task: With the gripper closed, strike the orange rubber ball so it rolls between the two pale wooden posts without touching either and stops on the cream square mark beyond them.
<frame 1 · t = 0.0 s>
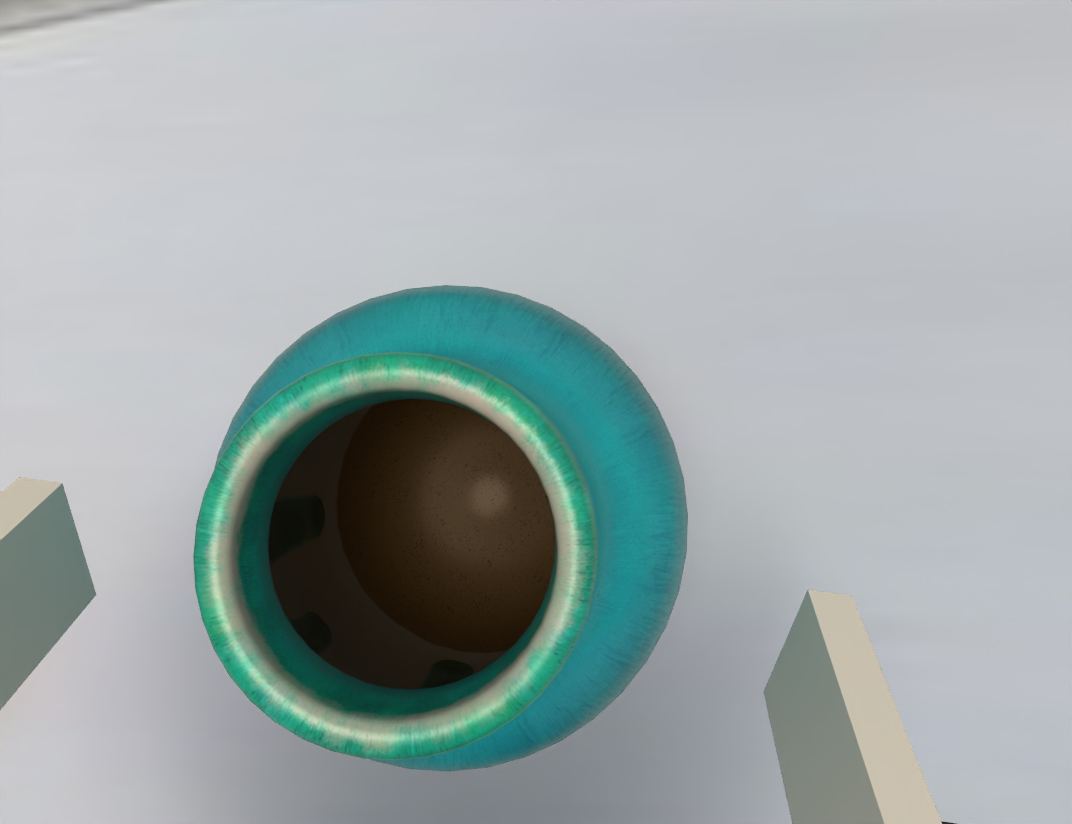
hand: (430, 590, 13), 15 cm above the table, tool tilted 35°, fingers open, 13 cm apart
vase: (493, 494, 28), on the table
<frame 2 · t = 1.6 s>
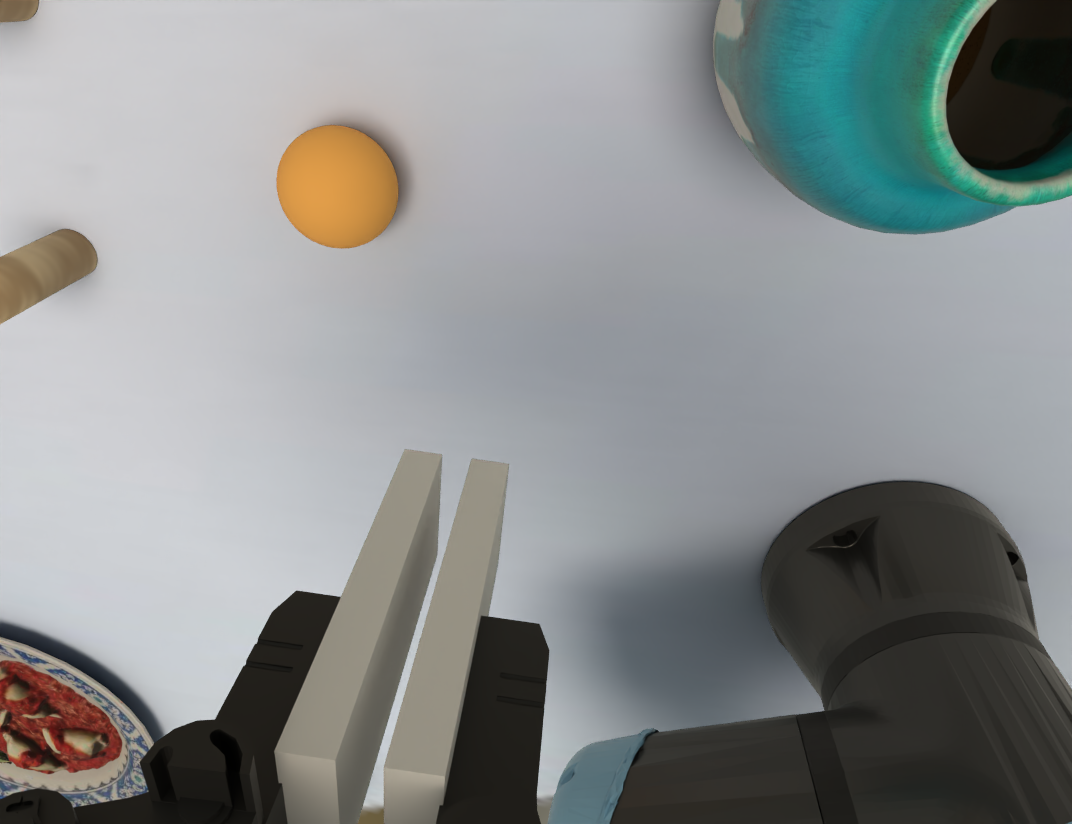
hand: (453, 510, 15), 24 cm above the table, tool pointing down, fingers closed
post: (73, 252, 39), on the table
ceramic plate: (29, 709, 64), on the table
ball: (338, 188, 33), on the table
vase: (820, 24, 31), on the table
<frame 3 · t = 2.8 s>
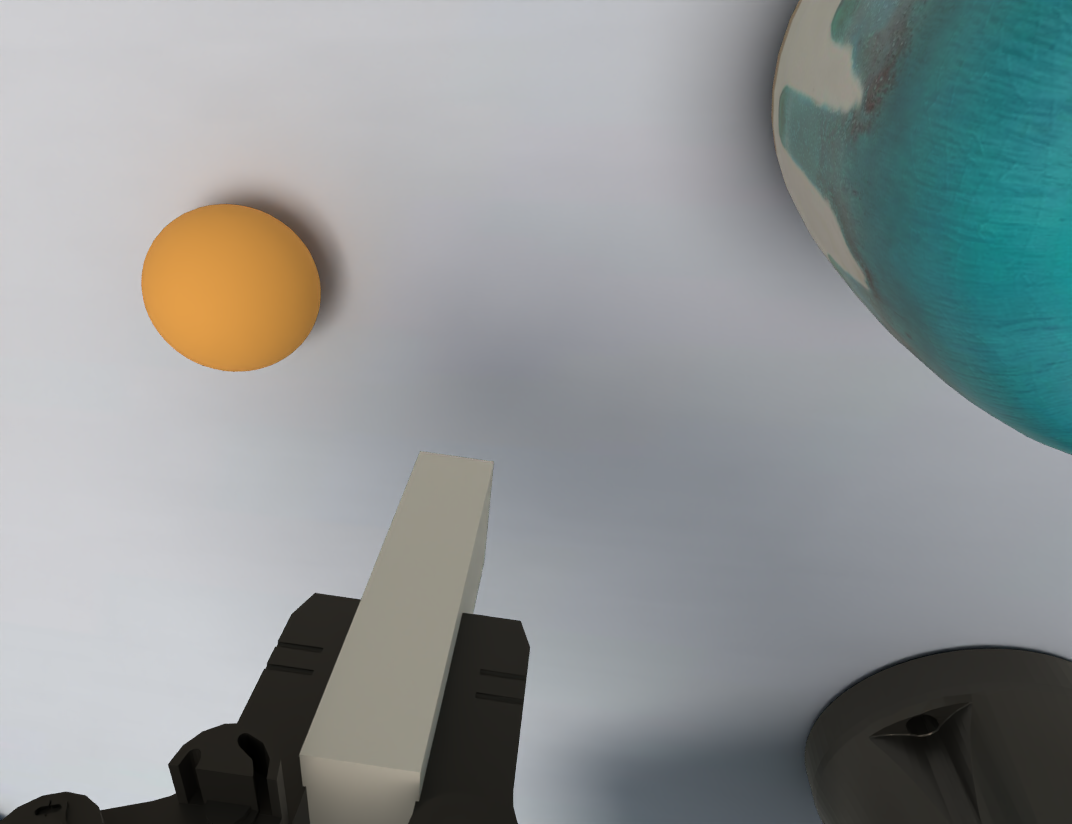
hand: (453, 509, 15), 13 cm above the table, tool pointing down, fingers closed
ball: (235, 289, 24), on the table
vase: (920, 66, 21), on the table
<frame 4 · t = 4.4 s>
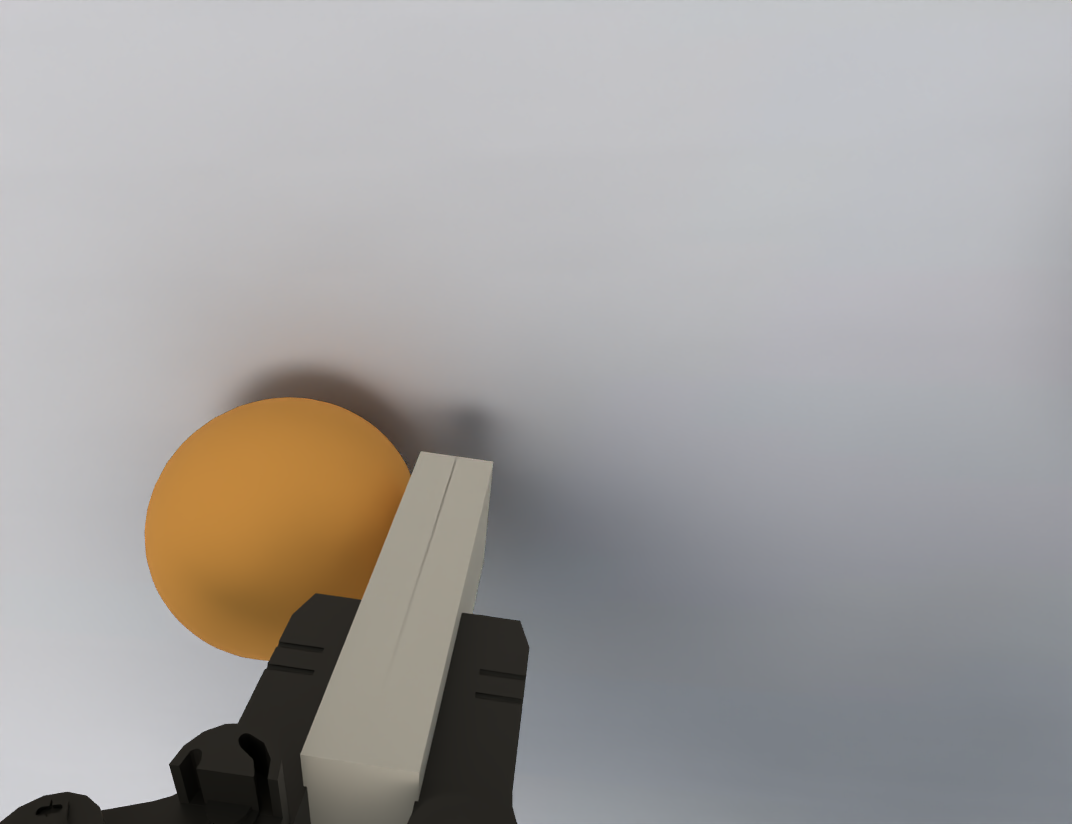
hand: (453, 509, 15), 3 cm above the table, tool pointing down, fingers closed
ball: (290, 525, 15), on the table
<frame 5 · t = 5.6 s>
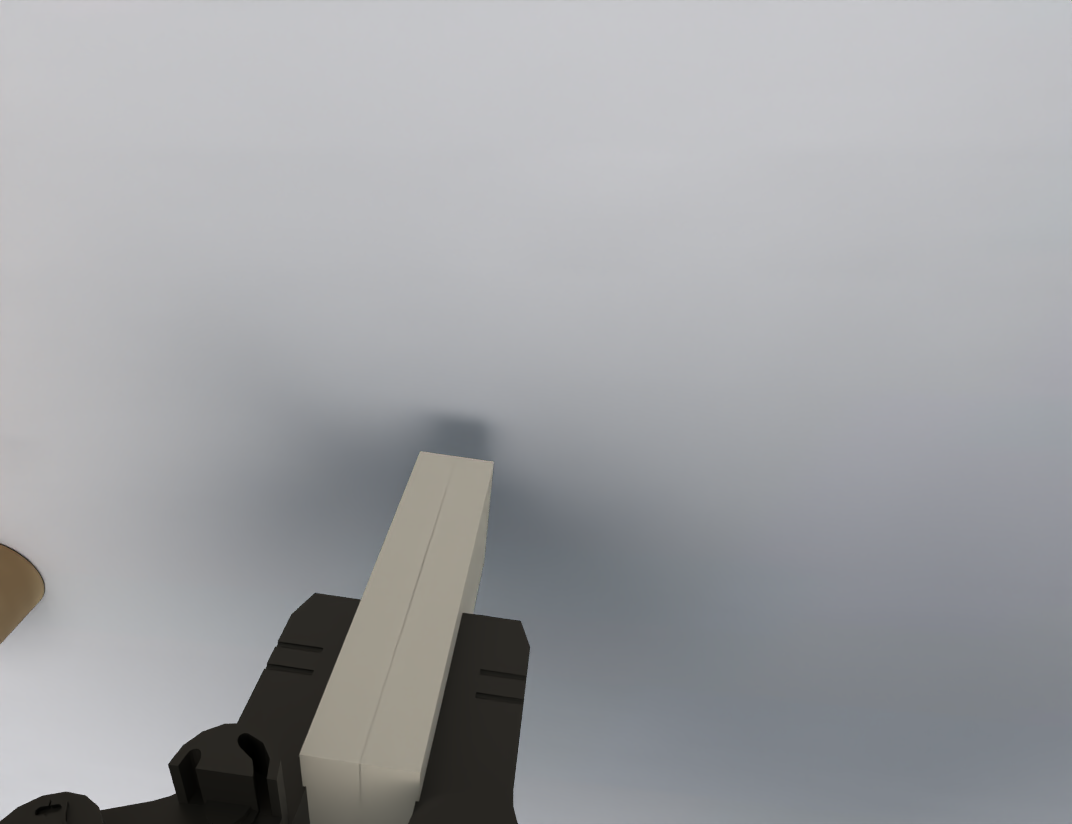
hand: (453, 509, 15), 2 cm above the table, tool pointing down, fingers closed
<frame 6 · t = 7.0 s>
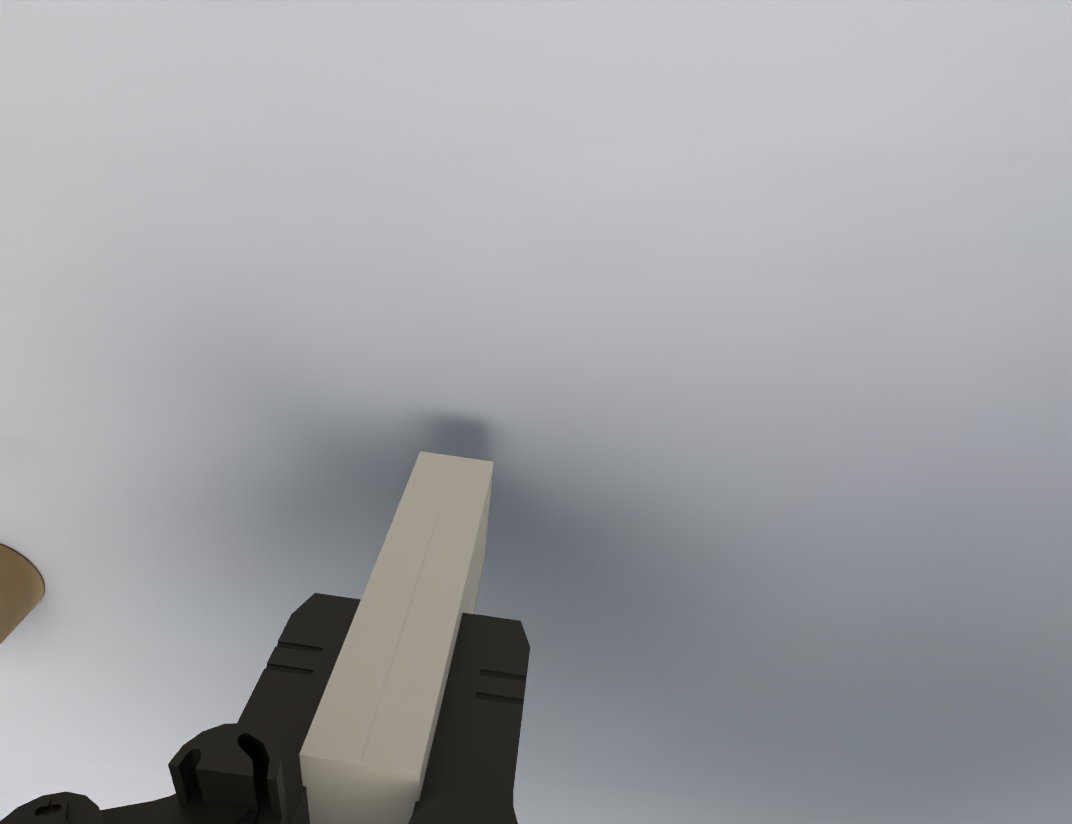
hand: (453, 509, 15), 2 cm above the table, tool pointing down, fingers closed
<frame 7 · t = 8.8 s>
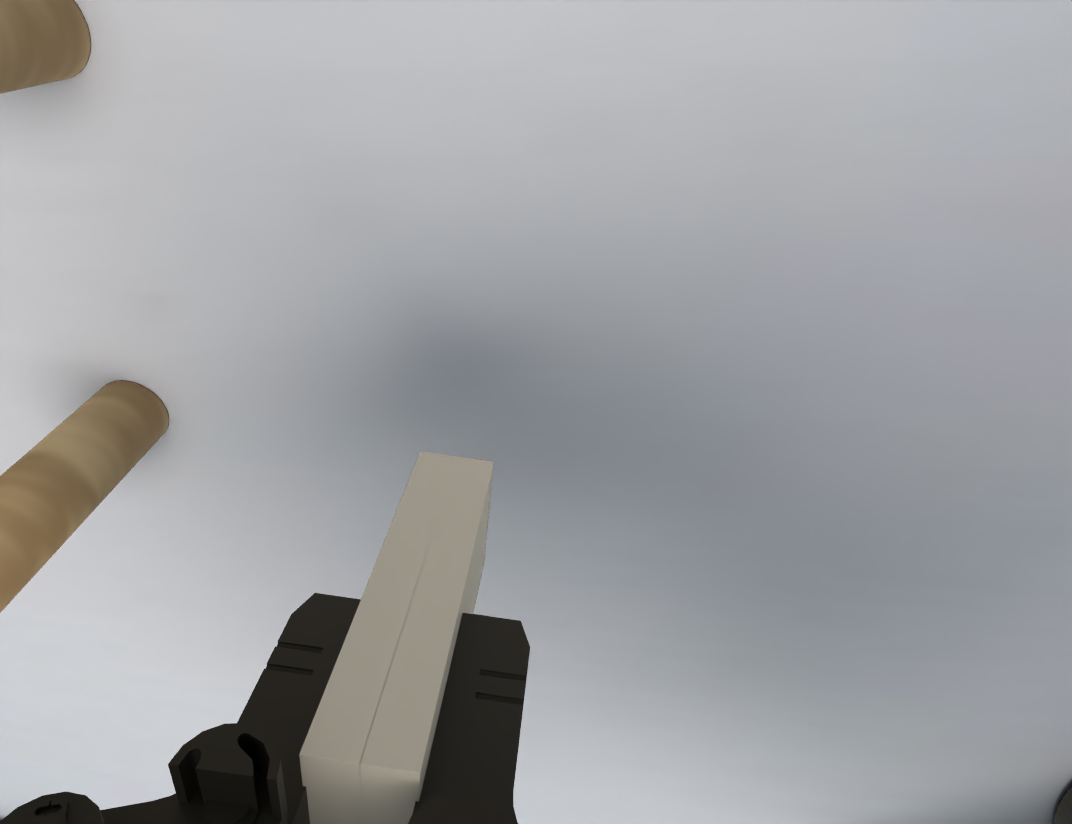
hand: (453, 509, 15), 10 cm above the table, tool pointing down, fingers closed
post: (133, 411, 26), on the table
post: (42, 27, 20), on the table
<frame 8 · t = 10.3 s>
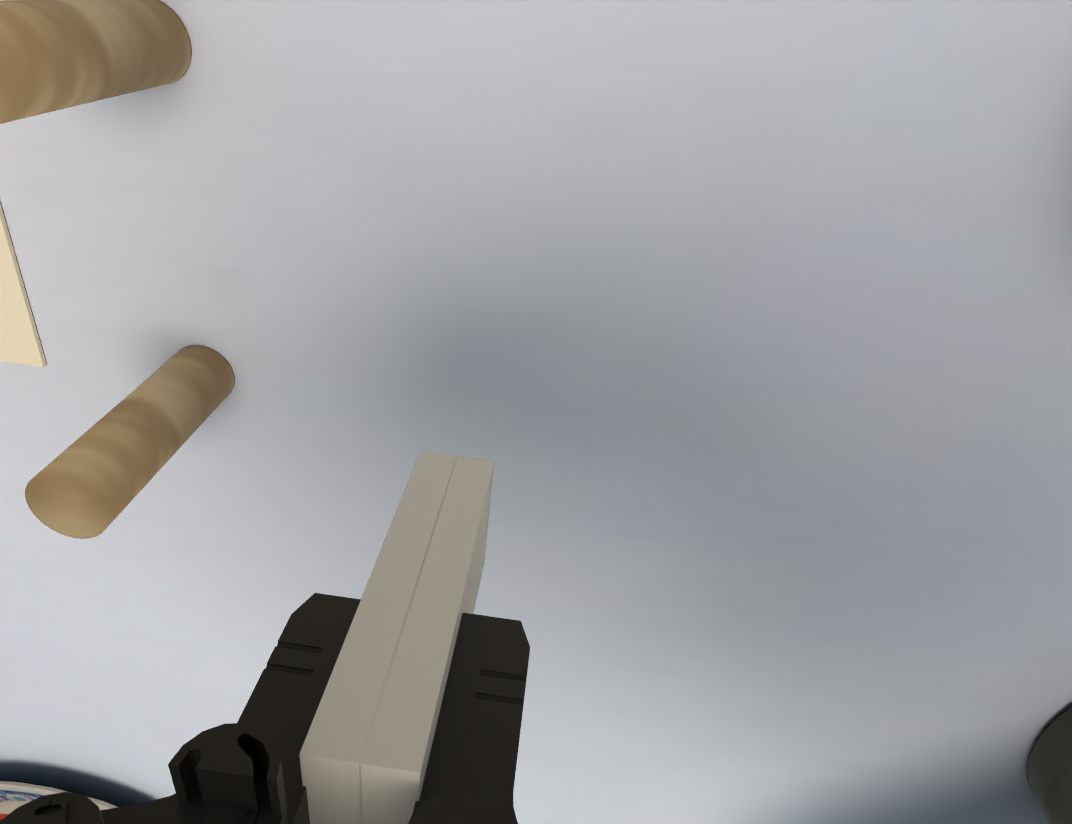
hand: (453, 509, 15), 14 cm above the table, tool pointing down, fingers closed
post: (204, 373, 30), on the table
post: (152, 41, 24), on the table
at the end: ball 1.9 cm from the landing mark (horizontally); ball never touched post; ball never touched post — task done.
